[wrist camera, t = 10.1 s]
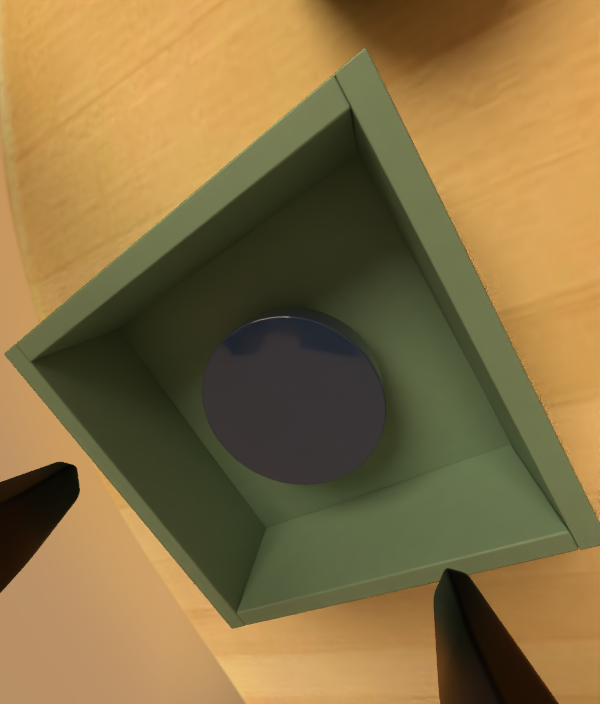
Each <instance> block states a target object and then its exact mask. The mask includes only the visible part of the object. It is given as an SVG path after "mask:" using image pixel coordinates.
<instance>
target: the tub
mask: <svg viewBox="0 0 600 704" xmlns="http://www.w3.org/2000/svg"><path fill="white" fill-rule="evenodd" d="M291 307H293V308H306V309H311V310H316V311H319V312H322V313H325V314H328V315H330V316H332V317H334V318H336V319H339V320H340V321H342V322H343V323H345V324H346V325H348V326H349V327H351V328H352V329H353V330H354V331H355V332H357V333H358V334H359V335H360V336H361V337H362V339H363V340H364V341H365V342H366V343H367V344H368V346H369V347H370V349H371V350H372V352H373V353H374V355H375V357H376V359H377V361H378V363H379V365H380V368H381V371H382V374H383V380H384V385H385V396H386V420H385V426H384V429H383V433H382V436H381V438H380V440H379V442H378V445H377V446H376V448H375V449H374V451H373V452H372V454H371V455H370V456H369V457H368V458H367V459H366V460H365V462H364V463H362V464H361V465H360V466H359V467H358V468H356V469H355V470H354V471H352V472H350V473H349V474H347V475H345V476H343V477H341V478H338V479H336V480H333V481H329V482H326V483H320V484H312V485H296V484H288V483H282V482H279V481H275V480H272V479H269V478H266V477H264V476H261V475H259V474H257V473H255V472H253V471H252V470H250V469H248V468H247V467H245V466H244V465H242V464H241V463H240V462H239V461H237V460H236V459H235V458H234V457H233V456H232V455H231V454H230V453H229V452H228V451H227V450H226V449H225V448H224V447H223V446H222V444H221V443H220V442H219V441H218V439H217V437H216V436H215V434H214V433H213V431H212V429H211V427H210V425H209V423H208V420H207V417H206V414H205V410H204V406H203V398H202V382H203V377H204V372H205V368H206V366H207V363H208V360H209V358H210V356H211V355H212V353H213V351H214V350H215V348H216V347H217V346H218V344H219V343H220V342H221V341H222V340H223V339H224V338H225V337H226V336H227V335H228V334H229V333H231V332H232V331H234V330H235V329H236V328H238V327H239V326H241V325H242V324H243V323H245V322H246V321H248V320H249V319H251V318H253V317H255V316H257V315H259V314H261V313H264V312H267V311H270V310H275V309H279V308H291ZM5 356H6V357H7V358H8V360H9V361H10V362H11V363H12V364H13V366H14V367H15V368H16V369H17V370H18V372H19V373H20V374H21V375H22V376H23V378H24V379H25V380H26V381H27V382H28V384H29V385H30V386H31V387H32V388H33V390H34V391H35V392H36V393H37V394H38V396H39V397H40V398H41V399H42V400H43V402H44V403H45V404H46V405H47V406H48V408H49V409H50V410H51V411H52V412H53V414H54V415H55V416H56V417H57V418H58V419H59V421H60V422H61V423H62V425H63V426H64V427H65V428H66V429H67V431H68V432H69V433H70V434H71V435H72V437H73V438H74V439H75V440H76V441H77V443H78V444H79V445H80V446H81V447H82V449H83V450H84V451H85V452H86V453H87V455H88V456H89V457H90V458H91V459H92V461H93V462H94V463H95V464H96V465H97V467H98V468H99V469H100V470H101V472H102V473H103V474H104V475H105V476H106V478H107V479H108V480H109V481H110V482H111V484H112V485H113V486H114V487H115V488H116V490H117V491H118V492H119V493H120V494H121V496H122V497H123V498H124V499H125V500H126V502H127V503H128V504H129V505H130V506H131V508H132V509H133V510H134V511H135V512H136V514H137V515H138V516H139V517H140V518H141V520H142V521H143V522H144V523H145V525H146V526H147V527H148V528H149V529H150V531H151V532H152V533H153V534H154V535H155V537H156V538H157V539H158V540H159V541H160V543H161V544H162V545H163V546H164V547H165V549H166V550H167V551H168V552H169V553H170V555H171V556H172V557H173V558H174V559H175V561H176V562H177V563H178V564H179V565H180V567H181V568H182V569H183V570H184V571H185V573H186V574H187V575H188V576H189V577H190V579H191V580H192V581H193V582H194V584H195V585H196V586H197V587H198V588H199V590H200V591H201V592H202V593H203V594H204V596H205V597H206V598H207V599H208V600H209V602H210V603H211V604H212V605H213V606H214V608H215V609H216V610H217V611H218V612H219V614H220V615H221V616H222V617H223V618H224V620H225V621H226V622H227V623H228V624H229V626H230V627H231V628H237V627H242V626H245V625H249V624H253V623H258V622H262V621H267V620H271V619H275V618H280V617H284V616H289V615H293V614H298V613H302V612H306V611H311V610H315V609H320V608H324V607H328V606H333V605H337V604H342V603H346V602H351V601H355V600H359V599H364V598H368V597H373V596H377V595H381V594H386V593H390V592H395V591H399V590H404V589H408V588H412V587H417V586H421V585H426V584H430V583H434V582H439V581H440V579H441V576H442V574H443V572H444V570H445V569H446V568H451V569H454V570H458V571H462V572H464V573H466V574H467V575H470V574H474V573H479V572H483V571H487V570H492V569H496V568H501V567H505V566H510V565H514V564H518V563H523V562H527V561H532V560H536V559H540V558H545V557H549V556H554V555H558V554H563V553H567V552H571V551H576V550H578V548H579V549H580V550H582V549H587V548H591V547H596V546H600V522H599V520H598V518H597V516H596V514H595V512H594V510H593V508H592V506H591V504H590V502H589V500H588V498H587V496H586V494H585V492H584V490H583V488H582V486H581V484H580V482H579V480H578V478H577V476H576V474H575V472H574V469H573V467H572V465H571V463H570V461H569V459H568V457H567V455H566V453H565V451H564V449H563V447H562V445H561V443H560V441H559V439H558V437H557V435H556V433H555V431H554V429H553V427H552V425H551V423H550V421H549V419H548V417H547V414H546V412H545V410H544V408H543V406H542V404H541V402H540V400H539V398H538V396H537V394H536V392H535V390H534V388H533V386H532V384H531V382H530V380H529V378H528V376H527V374H526V372H525V370H524V368H523V366H522V364H521V361H520V359H519V357H518V355H517V353H516V351H515V349H514V347H513V345H512V343H511V341H510V339H509V337H508V335H507V333H506V331H505V329H504V327H503V325H502V323H501V321H500V319H499V317H498V315H497V313H496V311H495V309H494V306H493V304H492V302H491V300H490V298H489V296H488V294H487V292H486V290H485V288H484V286H483V284H482V282H481V280H480V278H479V276H478V274H477V272H476V270H475V268H474V266H473V264H472V262H471V260H470V258H469V256H468V254H467V251H466V249H465V247H464V245H463V243H462V241H461V239H460V237H459V235H458V233H457V231H456V229H455V227H454V225H453V223H452V221H451V219H450V217H449V215H448V213H447V211H446V209H445V207H444V205H443V203H442V201H441V199H440V196H439V194H438V192H437V190H436V188H435V186H434V184H433V182H432V180H431V178H430V176H429V174H428V172H427V170H426V168H425V166H424V164H423V162H422V160H421V158H420V156H419V154H418V152H417V150H416V148H415V146H414V143H413V141H412V139H411V137H410V135H409V133H408V131H407V129H406V127H405V125H404V123H403V121H402V119H401V117H400V115H399V113H398V111H397V109H396V107H395V105H394V103H393V101H392V99H391V97H390V95H389V93H388V91H387V88H386V86H385V84H384V82H383V80H382V78H381V76H380V74H379V72H378V70H377V68H376V66H375V64H374V62H373V60H372V58H371V56H370V54H369V52H368V50H367V49H366V48H364V49H363V50H361V51H360V52H359V53H358V54H357V55H355V56H354V57H353V58H352V59H351V60H350V61H348V62H347V63H346V64H345V65H344V66H342V67H341V68H340V69H339V70H338V71H337V72H336V73H335V76H331V77H330V78H329V79H327V80H326V81H325V82H324V83H323V84H321V85H320V86H319V87H318V88H317V89H316V90H314V91H313V92H312V93H311V94H310V95H309V96H307V97H306V98H305V99H304V100H303V101H301V102H300V103H299V104H298V105H297V106H296V107H294V108H293V109H292V110H291V111H290V112H288V113H287V114H286V115H285V116H284V117H283V118H281V119H280V120H279V121H278V122H277V123H276V124H274V125H273V126H272V127H271V128H270V129H268V130H267V131H266V132H265V133H264V134H263V135H261V136H260V137H259V138H258V139H257V140H255V141H254V142H253V143H252V144H251V145H250V146H248V147H247V148H246V149H245V150H244V151H243V152H241V153H240V154H239V155H238V156H237V157H235V158H234V159H233V160H232V161H231V162H230V163H228V164H227V165H226V166H225V167H224V168H222V169H221V170H220V171H219V172H218V173H217V174H215V175H214V176H213V177H212V178H211V179H210V180H208V181H207V182H206V183H205V184H204V185H202V186H201V187H200V188H199V189H198V190H197V191H195V192H194V193H193V194H192V195H191V196H189V197H188V198H187V199H186V200H185V201H184V202H182V203H181V204H180V205H179V206H178V207H177V208H175V209H174V210H173V211H172V212H171V213H169V214H168V215H167V216H166V217H165V218H164V219H162V220H161V221H160V222H159V223H158V224H156V225H155V226H154V227H153V228H152V229H151V230H149V231H148V232H147V233H146V234H145V235H144V236H142V237H141V238H140V239H139V240H138V241H136V242H135V243H134V244H133V245H132V246H131V247H129V248H128V249H127V250H126V251H125V252H123V253H122V254H121V255H120V256H119V257H118V258H116V259H115V260H114V261H113V262H112V263H111V264H109V265H108V266H107V267H106V268H105V269H103V270H102V271H101V272H100V273H99V274H98V275H96V276H95V277H94V278H93V279H92V280H90V281H89V282H88V283H87V284H86V285H85V286H83V287H82V288H81V289H80V290H79V291H78V292H76V293H75V294H74V295H73V296H72V297H70V298H69V299H68V300H67V301H66V302H65V303H63V304H62V305H61V306H60V307H59V308H57V309H56V310H55V311H54V312H53V313H52V314H50V315H49V316H48V317H47V318H46V319H45V320H43V321H42V322H41V323H40V324H39V325H37V326H36V327H35V328H34V329H33V330H32V331H30V332H29V333H28V334H27V335H26V336H24V337H23V338H22V339H21V340H20V341H19V342H17V344H15V345H14V346H13V347H11V348H10V349H9V350H8V351H7V352H6V353H5Z"/></svg>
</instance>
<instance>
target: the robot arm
mask: <svg viewBox="0 0 600 704" xmlns="http://www.w3.org/2000/svg"><path fill="white" fill-rule="evenodd" d="M79 492H80V488H79V480H78V473H77V468H76V467H75V466H74V465H71V464H68V463H64V462H56V463H53V464H50V465H48V466H45V467H42V468H39V469H36V470H34V471H31V472H28V473H25V474H22V475H19V476H16V477H14V478H11V479H8V480H5V481H2V482H0V593H1V592H2V590H3V589H4V588H5V587H6V586H7V585H8V584H9V583H10V582H11V581H12V579H13V578H14V577H15V576H16V575H17V574H18V573H19V572H20V571H21V569H22V568H23V567H24V566H25V565H26V564H27V563H28V561H29V560H30V559H31V558H32V557H33V555H34V554H35V553H36V552H37V550H38V549H39V548H40V546H41V545H42V544H43V542H44V541H45V540H46V539H47V537H48V536H49V535H50V534H51V532H52V530H54V528H55V527H56V526H57V524H58V523H59V522H60V521H61V519H62V518H63V517H64V515H65V514H66V513H67V511H68V510H69V509H70V508H71V506H72V505H73V504H74V502H75V501H76V499H77V498H78V495H79ZM434 620H435V637H436V654H437V671H438V686H439V697H440V704H559V703H558V702H557V701H556V699H555V698H554V696H553V695H552V693H551V692H550V691H549V689H548V688H547V686H546V685H545V683H544V682H543V681H542V679H541V678H540V676H539V675H538V674H537V672H536V671H535V669H534V668H533V666H532V665H531V664H530V662H529V661H528V659H527V658H526V656H525V655H524V654H523V652H522V651H521V649H520V648H519V647H518V645H517V644H516V642H515V641H514V639H513V638H512V637H511V635H510V634H509V632H508V631H507V629H506V628H505V627H504V625H503V624H502V622H501V621H500V620H499V618H498V617H497V615H496V614H495V612H494V611H493V610H492V608H491V607H490V605H489V604H488V602H487V601H486V600H485V598H484V597H483V595H482V594H481V592H480V591H479V590H478V588H477V587H476V585H475V584H474V583H473V581H472V580H471V578H470V577H469V576H468V575H467V574H466V573H464V572H462V571H458V570H454V569H451V568H446V569H445V570H444V572H443V574H442V576H441V579H440V581H439V584H438V586H437V589H436V591H435V595H434Z"/></svg>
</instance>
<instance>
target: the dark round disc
mask: <svg viewBox="0 0 600 704" xmlns="http://www.w3.org/2000/svg"><path fill="white" fill-rule="evenodd" d="M202 398H203V406H204V410H205V414H206V417H207V420H208V423H209V425H210V427H211V429H212V431H213V433H214V434H215V436H216V437H217V439H218V441H219V442H220V443H221V444H222V446H223V447H224V448H225V449H226V450H227V451H228V452H229V453H230V454H231V455H232V456H233V457H234V458H235V459H236V460H237V461H239V462H240V463H241V464H242V465H244V466H245V467H247V468H248V469H250V470H252V471H253V472H255V473H257V474H259V475H261V476H264V477H266V478H269V479H272V480H275V481H279V482H282V483H288V484H296V485H312V484H320V483H326V482H329V481H333V480H336V479H338V478H341V477H343V476H345V475H347V474H349V473H350V472H352V471H354V470H355V469H356V468H358V467H359V466H360V465H361V464H362V463H364V462H365V460H366V459H367V458H368V457H369V456H370V455H371V454H372V452H373V451H374V449H375V448H376V446H377V445H378V442H379V440H380V438H381V436H382V433H383V429H384V426H385V420H386V396H385V385H384V380H383V374H382V371H381V368H380V365H379V363H378V361H377V359H376V357H375V355H374V353H373V352H372V350H371V349H370V347H369V346H368V344H367V343H366V342H365V341H364V340H363V339H362V337H361V336H360V335H359V334H358V333H357V332H355V331H354V330H353V329H352V328H351V327H349V326H348V325H346V324H345V323H343V322H342V321H340V320H339V319H336V318H334V317H332V316H330V315H328V314H325V313H322V312H319V311H316V310H311V309H306V308H293V307H291V308H279V309H275V310H270V311H267V312H264V313H261V314H259V315H257V316H255V317H253V318H251V319H249V320H248V321H246V322H245V323H243V324H242V325H241V326H239V327H238V328H236V329H235V330H234V331H232V332H231V333H229V334H228V335H227V336H226V337H225V338H224V339H223V340H222V341H221V342H220V343H219V344H218V346H217V347H216V348H215V350H214V351H213V353H212V355H211V356H210V358H209V360H208V363H207V366H206V368H205V372H204V377H203V382H202Z"/></svg>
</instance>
